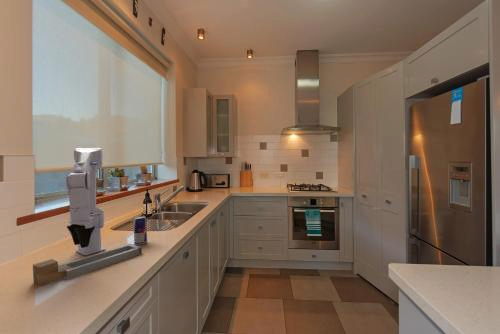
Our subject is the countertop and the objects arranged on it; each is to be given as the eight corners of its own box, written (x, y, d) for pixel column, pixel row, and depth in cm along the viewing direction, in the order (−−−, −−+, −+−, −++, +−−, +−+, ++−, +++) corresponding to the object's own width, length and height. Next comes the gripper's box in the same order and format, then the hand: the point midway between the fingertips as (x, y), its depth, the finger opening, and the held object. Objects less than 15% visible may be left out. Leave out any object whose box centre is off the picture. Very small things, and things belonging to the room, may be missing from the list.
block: (33, 283, 80) (32, 264, 79) (66, 272, 87) (65, 254, 87) (39, 286, 77) (38, 267, 77) (72, 274, 85) (71, 257, 85)
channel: (57, 272, 87) (57, 265, 87) (130, 249, 108) (130, 243, 108) (67, 279, 82) (67, 271, 82) (141, 253, 103) (141, 247, 103)
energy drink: (142, 245, 113) (141, 218, 112) (131, 245, 114) (130, 218, 114) (149, 241, 118) (148, 216, 118) (139, 241, 119) (138, 216, 119)
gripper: (101, 207, 88) (103, 245, 88) (83, 203, 96) (85, 239, 97) (78, 210, 82) (80, 252, 82) (61, 206, 90) (63, 244, 91)
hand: (81, 245), depth 89 cm, fingers open, 5 cm apart
